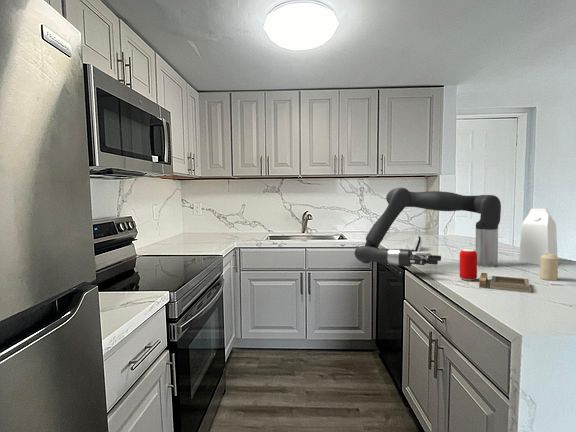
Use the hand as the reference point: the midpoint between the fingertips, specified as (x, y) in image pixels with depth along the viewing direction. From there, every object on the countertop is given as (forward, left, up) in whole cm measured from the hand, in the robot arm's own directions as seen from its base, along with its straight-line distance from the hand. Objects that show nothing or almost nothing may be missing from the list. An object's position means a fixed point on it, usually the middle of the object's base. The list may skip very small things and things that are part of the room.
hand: (439, 260), depth 142 cm
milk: (-50, +37, -7) cm, 62 cm away
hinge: (-67, -24, -7) cm, 72 cm away
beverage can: (0, +11, -7) cm, 13 cm away
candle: (-14, +38, -7) cm, 41 cm away
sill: (+4, +16, -7) cm, 18 cm away
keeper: (+5, +25, -7) cm, 26 cm away
